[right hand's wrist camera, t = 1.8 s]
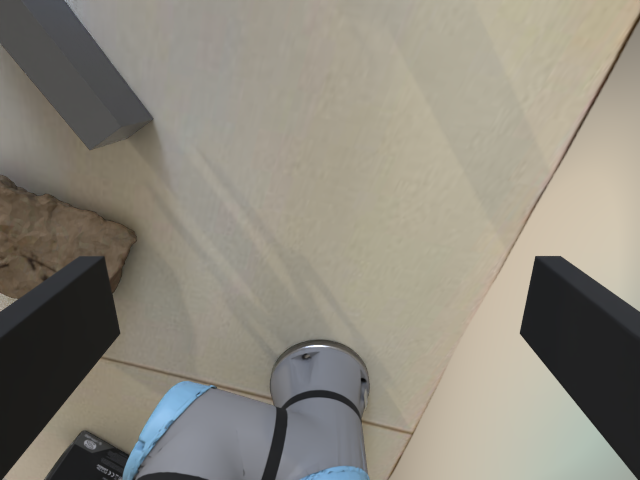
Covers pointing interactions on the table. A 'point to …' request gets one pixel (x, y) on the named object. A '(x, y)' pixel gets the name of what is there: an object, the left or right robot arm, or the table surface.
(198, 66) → the table surface
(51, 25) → the bar
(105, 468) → the graphics card box
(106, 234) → the stone
